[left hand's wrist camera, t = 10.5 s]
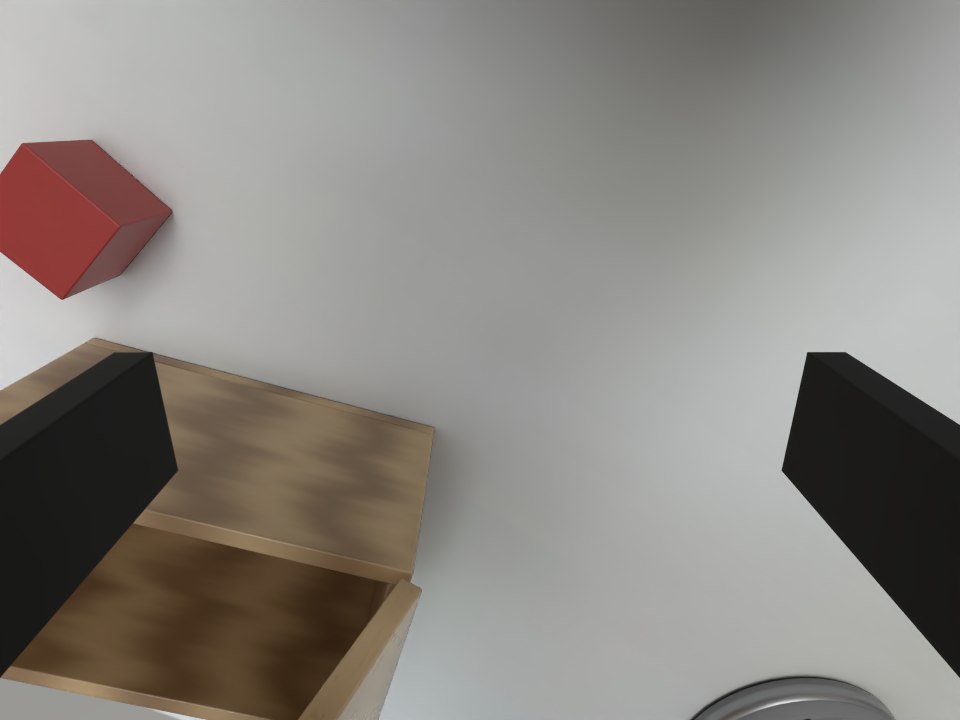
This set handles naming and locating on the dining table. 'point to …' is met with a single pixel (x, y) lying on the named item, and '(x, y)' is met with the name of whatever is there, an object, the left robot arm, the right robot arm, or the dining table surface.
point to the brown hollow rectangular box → (237, 549)
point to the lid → (368, 663)
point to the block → (73, 215)
